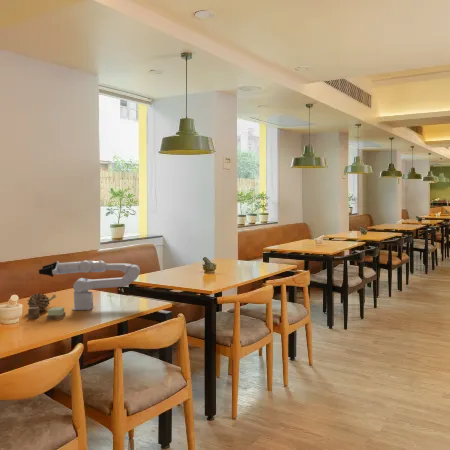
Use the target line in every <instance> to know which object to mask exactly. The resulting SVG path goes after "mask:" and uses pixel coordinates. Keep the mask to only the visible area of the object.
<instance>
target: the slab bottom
mask: <svg viewBox="0 0 450 450" xmlns="http://www.w3.org/2000/svg"><path fill="white" fill-rule="evenodd" d="M65 317H66V311H64V313H63V314H62V315H49V316H48V314H47V315H46V320H47V321H52V320H56V321H57V319H60V320H63V319H64V318H65Z"/></svg>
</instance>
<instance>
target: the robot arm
mask: <svg viewBox="0 0 450 450" xmlns="http://www.w3.org/2000/svg"><path fill="white" fill-rule="evenodd" d="M105 271H121V272H122V273H123V274H124V275H123V276H122V277H110V278H109V277H108V278H97V279H94V278H93V279H92V278H85V277H80V278H77V280H76V281H74V283H73V284H72V288H73V303H74V304H73V308H72V309H71V310H72V311H85V310H86V311H90V310H92V309H93V307H94V294H93V291H90V290H94V289H95V290H96V289H108V288H120V287H127V286H129V285H130V284H132V283H133V282H134V281H136V280H137V279H138V277H139V276H140V272H141V267H140V265H138V264H134V263H133V264H132V263H126V262H125V263H107V262H105V261H103V260H102V259H99V260H97V261H95V260H91V259H89V260H87V259H85V260H82V261H69V262H59V260H56V261H54V262H52V263H50V264H47V265H44V266H42V268H41V269H38V274H39V275H43V276H49V277H54V275H58V276H59V275H63V274H65V275H66V274H76V273H84V274H87V273H89V272H91V273H104V272H105Z"/></svg>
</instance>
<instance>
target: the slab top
mask: <svg viewBox="0 0 450 450" xmlns="http://www.w3.org/2000/svg"><path fill="white" fill-rule="evenodd" d="M64 312H65V307H64V306H62V307H61V306H60V307H59V306H58V307H57V306H55V307H54V306H53V307H50V308H49V309H48V310H47V315H48V316H49V315H62V314H63V313H64Z"/></svg>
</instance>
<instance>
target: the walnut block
mask: <svg viewBox="0 0 450 450" xmlns="http://www.w3.org/2000/svg"><path fill="white" fill-rule="evenodd" d="M27 311H28V312H27V313H28V320H38V319H39V318H40V317H41V316H40V315H41V314H40V310H39V307H28V309H27Z"/></svg>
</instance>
